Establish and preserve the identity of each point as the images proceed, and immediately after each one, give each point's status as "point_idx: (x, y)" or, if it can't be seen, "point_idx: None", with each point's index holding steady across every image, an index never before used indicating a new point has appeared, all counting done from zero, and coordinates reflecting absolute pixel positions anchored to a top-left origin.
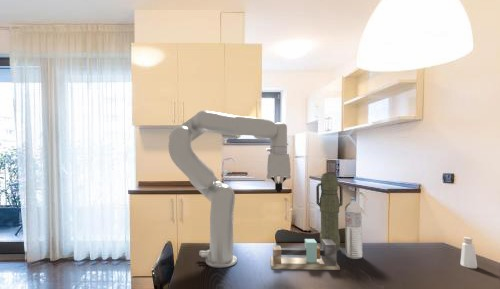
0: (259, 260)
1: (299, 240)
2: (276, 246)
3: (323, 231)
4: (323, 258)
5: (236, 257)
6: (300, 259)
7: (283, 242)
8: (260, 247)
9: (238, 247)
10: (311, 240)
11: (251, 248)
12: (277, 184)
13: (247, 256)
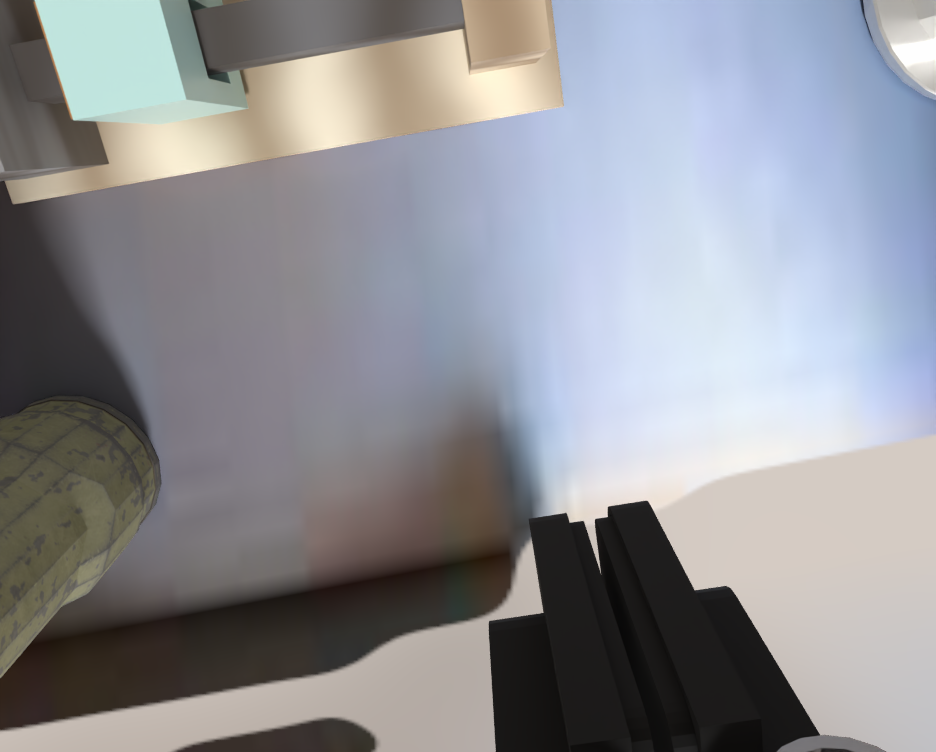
0: (655, 69)
1: (349, 623)
2: (510, 21)
3: (37, 502)
4: None
5: (878, 20)
6: (291, 110)
7: (481, 550)
8: (672, 390)
9: (870, 350)
10: (99, 50)
11: (750, 349)
12: (723, 676)
13: (771, 144)
